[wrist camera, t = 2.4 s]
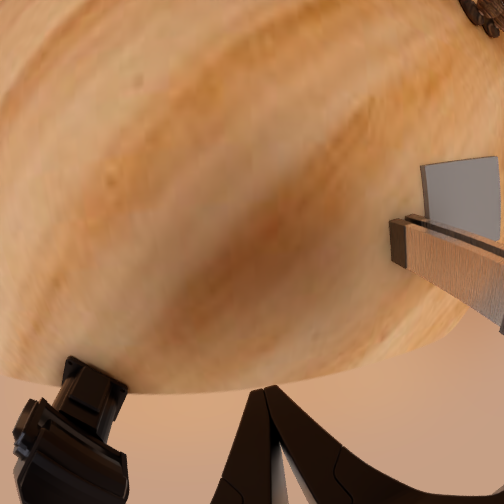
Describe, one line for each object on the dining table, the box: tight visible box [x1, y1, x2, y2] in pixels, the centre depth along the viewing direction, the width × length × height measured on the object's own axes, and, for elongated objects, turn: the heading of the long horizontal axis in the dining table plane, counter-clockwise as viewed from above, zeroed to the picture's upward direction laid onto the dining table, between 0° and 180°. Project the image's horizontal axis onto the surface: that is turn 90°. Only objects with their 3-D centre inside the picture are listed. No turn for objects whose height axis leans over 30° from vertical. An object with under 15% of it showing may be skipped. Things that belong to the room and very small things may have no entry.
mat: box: [420, 156, 501, 241], centre depth 21 cm, size 14×10×1 cm
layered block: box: [389, 214, 504, 335], centre depth 13 cm, size 3×4×15 cm
